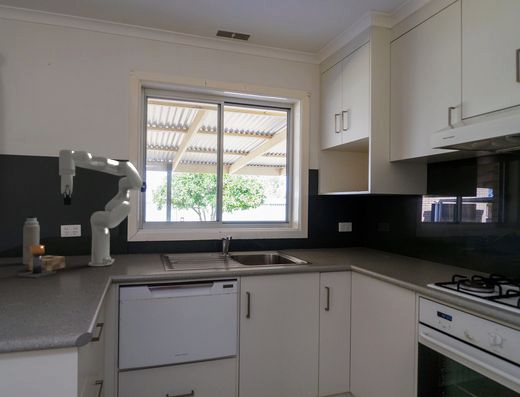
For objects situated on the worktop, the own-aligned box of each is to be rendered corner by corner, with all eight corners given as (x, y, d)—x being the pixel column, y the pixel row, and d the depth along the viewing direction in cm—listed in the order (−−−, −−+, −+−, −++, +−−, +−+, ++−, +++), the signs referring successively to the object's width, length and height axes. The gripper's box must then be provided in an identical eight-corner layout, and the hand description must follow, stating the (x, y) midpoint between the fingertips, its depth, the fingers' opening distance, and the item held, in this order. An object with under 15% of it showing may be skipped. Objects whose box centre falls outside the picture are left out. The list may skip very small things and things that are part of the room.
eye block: (64, 267, 193) (65, 256, 193) (46, 271, 181) (47, 260, 181) (47, 265, 196) (47, 255, 196) (28, 270, 184) (28, 259, 184)
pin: (37, 271, 178) (37, 244, 178) (46, 272, 177) (47, 245, 176) (27, 273, 172) (27, 246, 172) (36, 274, 171) (37, 246, 171)
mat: (56, 273, 179) (56, 271, 179) (36, 278, 167) (36, 276, 167) (37, 271, 182) (37, 269, 182) (16, 276, 170) (16, 274, 170)
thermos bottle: (32, 261, 207) (33, 215, 207) (42, 262, 205) (43, 216, 205) (19, 263, 200) (20, 216, 200) (29, 264, 197) (30, 216, 197)
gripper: (59, 173, 189) (59, 204, 189) (59, 172, 174) (59, 205, 175) (74, 173, 193) (74, 204, 193) (75, 172, 178) (76, 205, 178)
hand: (67, 204), depth 184 cm, fingers open, 9 cm apart
